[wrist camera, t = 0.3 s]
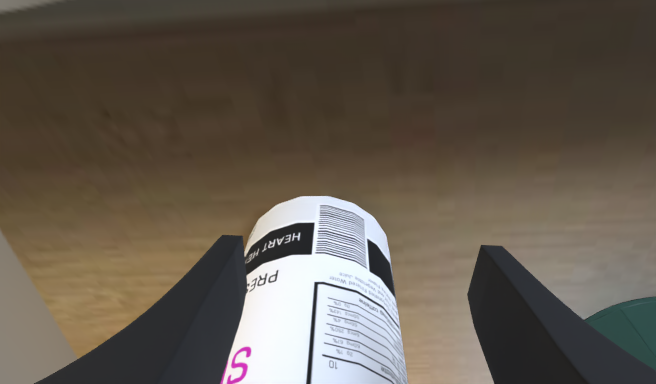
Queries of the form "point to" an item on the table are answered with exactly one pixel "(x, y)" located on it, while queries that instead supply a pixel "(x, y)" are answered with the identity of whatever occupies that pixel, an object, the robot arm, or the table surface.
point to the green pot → (630, 327)
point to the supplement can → (318, 299)
